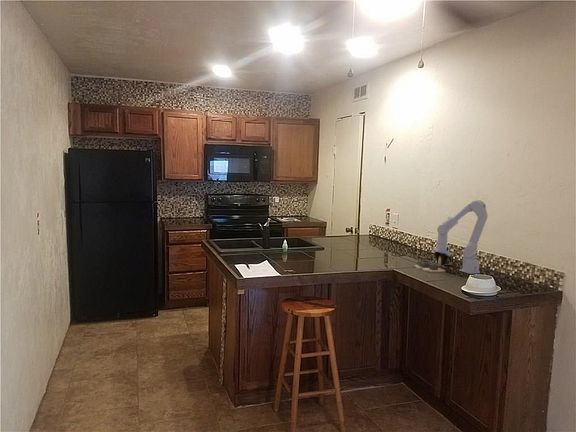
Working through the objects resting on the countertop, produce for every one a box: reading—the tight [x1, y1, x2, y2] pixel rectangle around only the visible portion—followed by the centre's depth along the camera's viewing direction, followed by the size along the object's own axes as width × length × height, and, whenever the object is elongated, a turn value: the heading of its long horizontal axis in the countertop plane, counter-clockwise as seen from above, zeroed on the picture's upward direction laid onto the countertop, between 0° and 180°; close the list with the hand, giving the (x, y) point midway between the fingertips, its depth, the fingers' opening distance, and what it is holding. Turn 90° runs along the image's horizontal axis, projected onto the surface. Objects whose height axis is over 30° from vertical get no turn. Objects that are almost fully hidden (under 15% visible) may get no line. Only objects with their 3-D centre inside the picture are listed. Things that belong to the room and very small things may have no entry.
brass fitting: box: [438, 256, 445, 269], centre depth 283 cm, size 4×4×7 cm
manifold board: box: [412, 259, 446, 274], centre depth 277 cm, size 17×11×4 cm, turn 20°
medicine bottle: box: [435, 245, 452, 266], centre depth 294 cm, size 7×7×12 cm
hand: (440, 264), depth 283 cm, fingers closed on brass fitting, 3 cm apart
